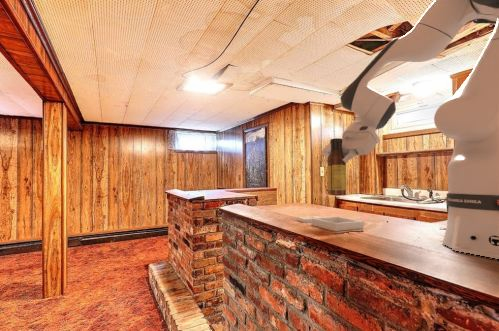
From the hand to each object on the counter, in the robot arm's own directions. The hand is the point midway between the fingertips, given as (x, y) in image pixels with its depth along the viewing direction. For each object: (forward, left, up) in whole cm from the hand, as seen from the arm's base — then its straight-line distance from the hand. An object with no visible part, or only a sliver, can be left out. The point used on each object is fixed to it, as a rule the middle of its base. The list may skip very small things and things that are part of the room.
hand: (335, 162), depth 88 cm
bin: (0, -1, -24) cm, 24 cm away
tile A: (+13, -4, -22) cm, 26 cm away
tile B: (+13, +2, -22) cm, 26 cm away
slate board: (+14, -1, -24) cm, 27 cm away
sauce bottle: (0, -1, -12) cm, 12 cm away
